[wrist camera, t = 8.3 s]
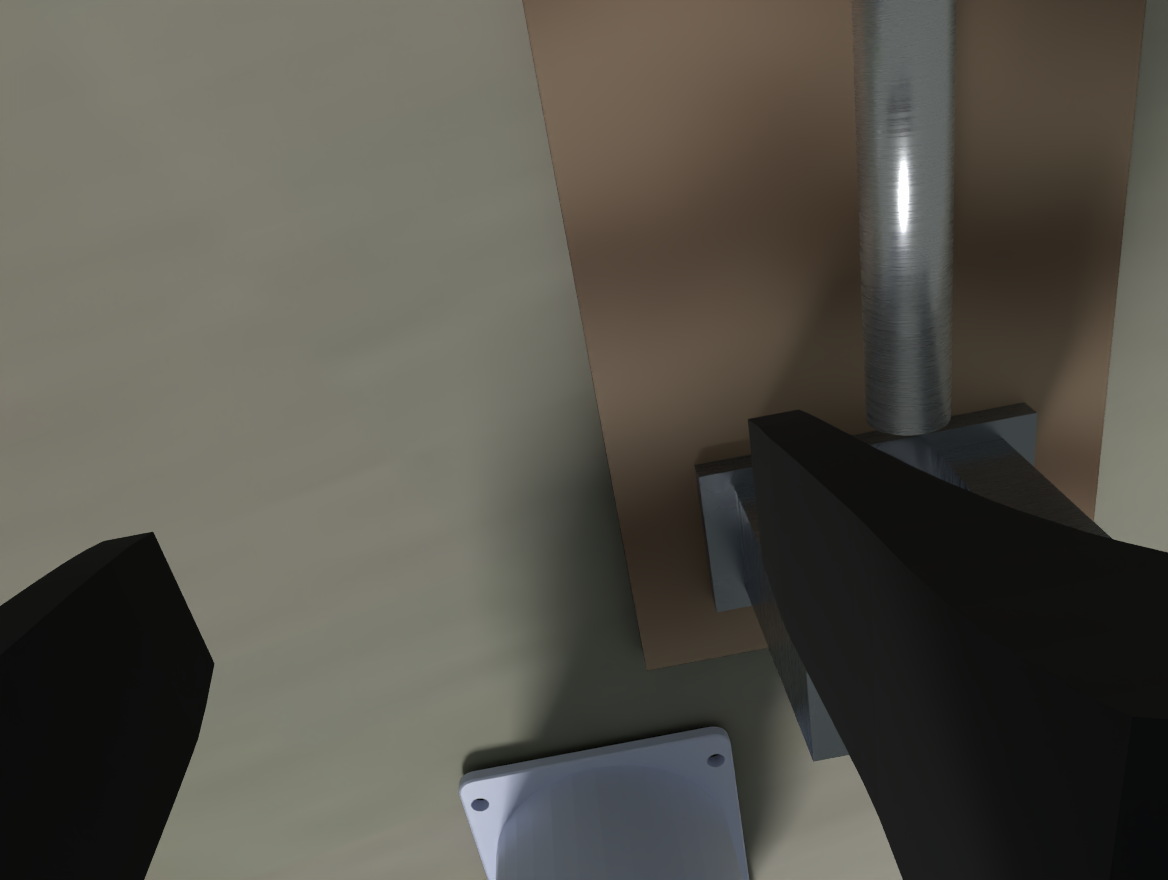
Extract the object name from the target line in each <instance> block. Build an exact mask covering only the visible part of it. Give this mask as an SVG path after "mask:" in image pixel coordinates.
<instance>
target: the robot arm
mask: <svg viewBox="0 0 1168 880" xmlns="http://www.w3.org/2000/svg"><path fill="white" fill-rule="evenodd" d="M748 427H749V437H750V447H751V457H752V467H753V477H754V487H755V497H756V507H757V517H758V527H759V537H760V547H761V557H762V562H763V565H764V568H765V571H766V574H767V577H768V580H769V583H770V586H771V589H772V592H773V595H774V598H775V601H776V603H777V606H778V609H779V612H780V615H781V617H782V620H783V623H784V626H785V628H786V630H787V633H788V635H789V637H790V639H791V641H792V643H793V645H794V647H795V649H796V651H797V653H798V655H799V657H800V659H801V661H802V663H803V665H804V667H805V669H806V671H807V673H808V675H809V677H810V679H811V681H812V683H813V685H814V687H815V689H816V690H817V692H818V694H819V696H820V698H821V700H822V702H823V704H824V706H825V708H826V710H827V712H828V714H829V716H830V718H831V720H832V722H833V724H834V726H835V728H836V730H837V732H838V734H839V736H840V738H841V740H842V741H843V743H844V745H845V747H846V749H847V751H848V753H849V755H850V757H851V759H852V761H853V763H854V765H855V767H856V769H857V771H858V773H859V775H860V777H861V779H862V781H863V783H864V785H865V787H866V790H867V792H868V794H869V796H870V798H871V801H872V803H873V805H874V807H875V809H876V812H877V814H878V816H879V819H880V821H881V824H882V826H883V829H884V831H885V834H886V837H887V839H888V842H889V845H890V847H891V850H892V852H893V855H894V858H895V860H896V863H897V865H898V868H899V871H900V873H901V876H902V878H903V880H1168V553H1167V552H1163V551H1159V550H1155V549H1151V548H1146V547H1142V546H1138V545H1134V544H1130V543H1125V542H1121V541H1117V540H1114V539H1110V538H1106V537H1103V536H1099V535H1096V534H1092V533H1088V532H1085V531H1081V530H1078V529H1075V528H1072V527H1069V526H1066V525H1063V524H1059V523H1056V522H1053V521H1050V520H1047V519H1044V518H1041V517H1038V516H1035V515H1032V514H1028V513H1025V512H1022V511H1019V510H1017V509H1014V508H1011V507H1008V506H1006V505H1003V504H1000V503H997V502H995V501H992V500H990V499H987V498H985V497H982V496H980V495H978V494H975V493H973V492H970V491H968V490H965V489H963V488H961V487H958V486H956V485H953V484H951V483H949V482H946V481H944V480H942V479H939V478H937V477H935V476H933V475H931V474H928V473H926V472H924V471H922V470H920V469H917V468H915V467H913V466H911V465H909V464H907V463H905V462H903V461H901V460H899V459H897V458H895V457H893V456H891V455H889V454H887V453H885V452H883V451H881V450H879V449H877V448H875V447H873V446H871V445H869V444H867V443H865V442H863V441H861V440H859V439H857V438H855V437H853V436H852V435H850V434H848V433H846V432H844V431H842V430H840V429H838V428H836V427H834V426H832V425H830V424H829V423H827V422H825V421H823V420H821V419H819V418H817V417H815V416H813V415H811V414H808V413H806V412H804V411H801V410H799V409H798V410H793V411H787V412H782V413H777V414H772V415H766V416H761V417H756V418H751V419H748ZM213 668H214V662H213V659H212V657H211V655H210V653H209V651H208V649H207V646H206V644H205V642H204V640H203V638H202V636H201V634H200V631H199V629H198V627H197V625H196V623H195V621H194V619H193V616H192V614H191V612H190V610H189V608H188V606H187V604H186V601H185V599H184V597H183V595H182V593H181V591H180V588H179V586H178V584H177V582H176V580H175V578H174V576H173V573H172V571H171V569H170V567H169V565H168V563H167V561H166V558H165V556H164V554H163V552H162V550H161V548H160V545H159V543H158V541H157V539H156V537H155V535H154V533H153V532H149V533H144V534H139V535H133V536H128V537H123V538H117V539H112V540H107V541H103V542H101V543H99V544H97V545H95V546H93V547H91V548H89V549H87V550H85V551H83V552H82V553H80V554H78V555H77V556H75V557H73V558H72V559H70V560H68V561H67V562H65V563H64V564H62V565H60V566H59V567H57V568H56V569H54V570H53V571H51V572H50V573H48V574H47V575H45V576H44V577H42V578H41V579H39V580H38V581H36V582H35V583H33V584H32V585H30V586H29V587H27V588H26V589H24V590H23V591H21V592H20V593H19V594H17V595H16V596H14V597H13V598H11V599H10V600H8V601H7V602H6V603H4V604H3V605H1V606H0V880H144V879H145V876H146V874H147V871H148V868H149V866H150V863H151V861H152V858H153V856H154V853H155V850H156V848H157V845H158V843H159V840H160V838H161V835H162V833H163V830H164V827H165V825H166V822H167V820H168V817H169V815H170V812H171V810H172V807H173V804H174V802H175V799H176V797H177V794H178V791H179V789H180V786H181V783H182V781H183V778H184V775H185V773H186V770H187V767H188V765H189V762H190V759H191V757H192V754H193V751H194V748H195V746H196V743H197V740H198V737H199V733H200V729H201V724H202V720H203V716H204V712H205V708H206V704H207V698H208V693H209V688H210V683H211V678H212V673H213ZM714 754H719V755H718V756H715V757H710V756H711V755H714ZM459 795H460V798H461V801H462V804H463V807H464V810H465V813H466V816H467V819H468V822H469V825H470V828H471V831H472V834H473V837H474V840H475V843H476V846H477V849H478V852H479V854H480V857H481V860H482V863H483V866H484V869H485V872H486V875H487V878H488V880H749V874H748V867H747V859H746V852H745V845H744V837H743V830H742V823H741V815H740V808H739V801H738V793H737V786H736V779H735V771H734V764H733V757H732V749H731V743H730V740H729V736H728V734H727V732H726V731H725V730H724V729H723V728H720V727H706V728H701V729H696V730H690V731H685V732H680V733H674V734H669V735H664V736H658V737H653V738H648V739H642V740H637V741H632V742H626V743H621V744H616V745H610V746H605V747H600V748H594V749H589V750H584V751H578V752H573V753H568V754H562V755H557V756H552V757H546V758H541V759H536V760H531V761H525V762H520V763H515V764H509V765H504V766H499V767H493V768H488V769H483V770H477V771H472V772H469V773H467V774H465V775H464V776H463V777H462V778H461V780H460V783H459ZM478 798H483V799H484V800H476V799H478Z"/></svg>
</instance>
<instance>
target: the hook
mask: <svg viewBox="0 0 1168 880" xmlns="http://www.w3.org/2000/svg"><path fill="white" fill-rule="evenodd" d="M956 1H957V0H851V3H852V32H853V61H854V90H855V119H856V148H857V177H858V206H859V235H860V264H861V293H862V322H863V351H864V380H865V409H866V421H867V423H868V424H869V425H870V426H871V427H872V428H874V429H876V430H878V431H880V432H883V433H887V434H892V435H901V436H912V435H921V434H927V433H931V432H934V431H936V430H939V429H941V428H943V427H944V426H945V425H947V424H948V422H949V421H950V419H951V366H952V293H953V220H954V147H955V74H956Z"/></svg>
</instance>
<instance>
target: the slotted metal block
mask: <svg viewBox="0 0 1168 880" xmlns="http://www.w3.org/2000/svg"><path fill="white" fill-rule="evenodd" d="M1036 429H1037V412H1036V411H1035V410H1033V409H1032V408H1031V407H1030V406H1029V405H1027V404H1026V403H1025V402H1022V403H1017V404H1012V405H1007V406H1001V407H996V408H991V409H986V410H981V411H975V412H970V413H965V414H960V415H954V416H951V419H950V421H949V422H948V424H947V425H945V426H944V427H943V428H941V429H939V430H936V431H934V432H931V433H927V434H921V435H912V436H901V435H892V434H887V433H883V432H880V431H878V430H876V431H870V432H865V433H860V434H855V435H852V436H853V437H855V438H857V439H859V440H861V441H863V442H865V443H867V444H869V445H871V446H873V447H875V448H877V449H879V450H881V451H883V452H885V453H887V454H889V455H891V456H893V457H895V458H897V459H899V460H901V461H903V462H905V463H907V464H909V465H911V466H913V467H915V468H917V469H920V470H922V471H924V472H926V473H928V474H931V475H933V476H935V477H937V478H939V479H942V480H944V481H946V482H949V483H951V484H953V485H956V486H958V487H961V488H963V489H965V490H968V491H970V492H973V493H975V494H978V495H980V496H982V497H985V498H987V499H990V500H992V501H995V502H997V503H1000V504H1003V505H1006V506H1008V507H1011V508H1014V509H1017V510H1019V511H1022V512H1025V513H1028V514H1032V515H1035V516H1038V517H1041V518H1044V519H1047V520H1050V521H1053V522H1056V523H1059V524H1063V525H1066V526H1069V527H1072V528H1075V529H1078V530H1081V531H1085V532H1088V533H1092V534H1096V535H1099V536H1103V537H1106V538H1110V539H1112V538H1111V537H1110V536H1109V535H1108V534H1106V533H1105V532H1104V531H1103V530H1102V529H1101V528H1100V527H1099V526H1098V525H1097V524H1096V523H1094V522H1093V521H1092V520H1091V519H1090V518H1089V517H1088V516H1087V515H1086V514H1085V513H1084V512H1083V511H1081V510H1080V509H1079V508H1078V507H1077V506H1076V505H1075V504H1074V503H1073V502H1072V501H1071V500H1069V499H1068V498H1067V497H1066V496H1065V495H1064V494H1063V493H1062V492H1061V491H1060V490H1059V489H1058V488H1056V487H1055V486H1054V485H1053V484H1052V483H1051V482H1050V481H1049V480H1048V479H1047V478H1046V477H1044V476H1043V475H1042V474H1041V473H1040V472H1039V471H1038V470H1037V469H1036V468H1035V467H1034V461H1035V445H1036ZM694 468H695V476H696V483H697V490H698V498H699V505H700V513H701V520H702V527H703V535H704V542H705V550H706V557H707V564H708V572H709V579H710V586H711V594H712V599H713V602H714V605H715V608H716V611H717V612H721V611H727V610H732V609H737V608H742V607H748V606H752V607H753V609H754V612H755V614H756V617H757V619H758V622H759V625H760V627H761V630H762V632H763V635H764V637H765V640H766V642H767V645H768V647H769V650H770V652H771V655H772V657H773V660H774V663H775V665H776V668H777V670H778V673H779V675H780V678H781V680H782V683H783V685H784V688H785V690H786V693H787V696H788V698H789V701H790V703H791V706H792V708H793V711H794V713H795V716H796V718H797V721H798V723H799V726H800V728H801V731H802V734H803V736H804V739H805V741H806V744H807V746H808V749H809V751H810V754H811V756H812V759H813V761H818V760H824V759H829V758H834V757H840V756H845V755H849V753H848V751H847V749H846V747H845V745H844V743H843V741H842V740H841V738H840V736H839V734H838V732H837V730H836V728H835V726H834V724H833V722H832V720H831V718H830V716H829V714H828V712H827V710H826V708H825V706H824V704H823V702H822V700H821V698H820V696H819V694H818V692H817V690H816V689H815V687H814V685H813V683H812V681H811V679H810V677H809V675H808V673H807V671H806V669H805V667H804V665H803V663H802V661H801V659H800V657H799V655H798V653H797V651H796V649H795V647H794V645H793V643H792V641H791V639H790V637H789V635H788V633H787V630H786V628H785V626H784V623H783V620H782V617H781V615H780V612H779V609H778V606H777V603H776V601H775V598H774V595H773V592H772V589H771V586H770V583H769V580H768V577H767V574H766V571H765V568H764V565H763V562H762V557H761V547H760V537H759V527H758V517H757V507H756V497H755V487H754V477H753V467H752V457H751V454H750V455H745V456H739V457H734V458H729V459H724V460H718V461H713V462H708V463H703V464H697V465H694Z"/></svg>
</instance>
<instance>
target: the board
mask: <svg viewBox="0 0 1168 880" xmlns="http://www.w3.org/2000/svg"><path fill="white" fill-rule="evenodd" d="M522 1H523V6H524V12H525V17H526V22H527V28H528V33H529V38H530V44H531V49H532V55H533V60H534V65H535V71H536V76H537V82H538V87H539V92H540V98H541V103H542V109H543V114H544V119H545V125H546V130H547V136H548V141H549V146H550V152H551V157H552V163H553V168H554V173H555V179H556V184H557V190H558V195H559V200H560V206H561V211H562V217H563V222H564V227H565V233H566V238H567V244H568V249H569V254H570V260H571V265H572V271H573V276H574V281H575V287H576V292H577V298H578V303H579V308H580V314H581V319H582V325H583V330H584V335H585V341H586V346H587V352H588V357H589V362H590V368H591V373H592V379H593V384H594V389H595V395H596V400H597V406H598V411H599V416H600V422H601V427H602V433H603V438H604V443H605V449H606V454H607V460H608V465H609V470H610V476H611V481H612V487H613V492H614V497H615V503H616V508H617V514H618V519H619V524H620V530H621V535H622V541H623V546H624V551H625V557H626V562H627V568H628V573H629V578H630V584H631V589H632V595H633V600H634V605H635V611H636V616H637V622H638V627H639V632H640V638H641V643H642V649H643V654H644V659H645V663H646V668H647V671H649V670H654V669H659V668H665V667H670V666H675V665H680V664H686V663H691V662H696V661H702V660H707V659H712V658H718V657H723V656H728V655H734V654H739V653H744V652H749V651H755V650H760V649H765V648H769V647H768V645H767V642H766V640H765V637H764V635H763V632H762V630H761V627H760V625H759V622H758V619H757V617H756V614H755V612H754V609H753V607H752V606H748V607H742V608H737V609H732V610H727V611H721V612H717V611H716V608H715V605H714V602H713V599H712V594H711V586H710V579H709V572H708V564H707V557H706V550H705V542H704V535H703V527H702V520H701V513H700V505H699V498H698V490H697V483H696V476H695V468H694V465H697V464H703V463H708V462H713V461H718V460H724V459H729V458H734V457H739V456H745V455H750V454H751V447H750V437H749V427H748V419H751V418H756V417H761V416H766V415H772V414H777V413H782V412H787V411H793V410H798V409H799V410H801V411H804V412H806V413H808V414H811V415H813V416H815V417H817V418H819V419H821V420H823V421H825V422H827V423H829V424H830V425H832V426H834V427H836V428H838V429H840V430H842V431H844V432H846V433H848V434H850V435H855V434H860V433H865V432H870V431H876V429H874V428H872V427H871V426H870V425H869V424H868V423H867V421H866V409H865V380H864V351H863V322H862V293H861V264H860V235H859V206H858V177H857V148H856V119H855V90H854V61H853V32H852V3H851V0H522ZM1145 7H1146V0H957V1H956V74H955V147H954V220H953V293H952V366H951V416H954V415H960V414H965V413H970V412H975V411H981V410H986V409H991V408H996V407H1001V406H1007V405H1012V404H1017V403H1022V402H1025V403H1026V404H1027V405H1029V406H1030V407H1031V408H1032V409H1033V410H1035V411H1036V412H1037V429H1036V445H1035V461H1034V467H1035V468H1036V469H1037V470H1038V471H1039V472H1040V473H1041V474H1042V475H1043V476H1044V477H1046V478H1047V479H1048V480H1049V481H1050V482H1051V483H1052V484H1053V485H1054V486H1055V487H1056V488H1058V489H1059V490H1060V491H1061V492H1062V493H1063V494H1064V495H1065V496H1066V497H1067V498H1068V499H1069V500H1071V501H1072V502H1073V503H1074V504H1075V505H1076V506H1077V507H1078V508H1079V509H1080V510H1081V511H1083V512H1084V513H1085V514H1086V515H1087V516H1088V517H1089V518H1090V519H1091V520H1092V521H1093V522H1094V514H1095V504H1096V494H1097V484H1098V475H1099V465H1100V455H1101V445H1102V435H1103V425H1104V415H1105V405H1106V395H1107V385H1108V375H1109V365H1110V355H1111V345H1112V335H1113V325H1114V315H1115V306H1116V296H1117V286H1118V276H1119V266H1120V256H1121V246H1122V236H1123V226H1124V216H1125V206H1126V196H1127V186H1128V176H1129V166H1130V156H1131V147H1132V137H1133V127H1134V117H1135V107H1136V97H1137V87H1138V77H1139V67H1140V57H1141V47H1142V37H1143V27H1144V17H1145Z"/></svg>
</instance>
